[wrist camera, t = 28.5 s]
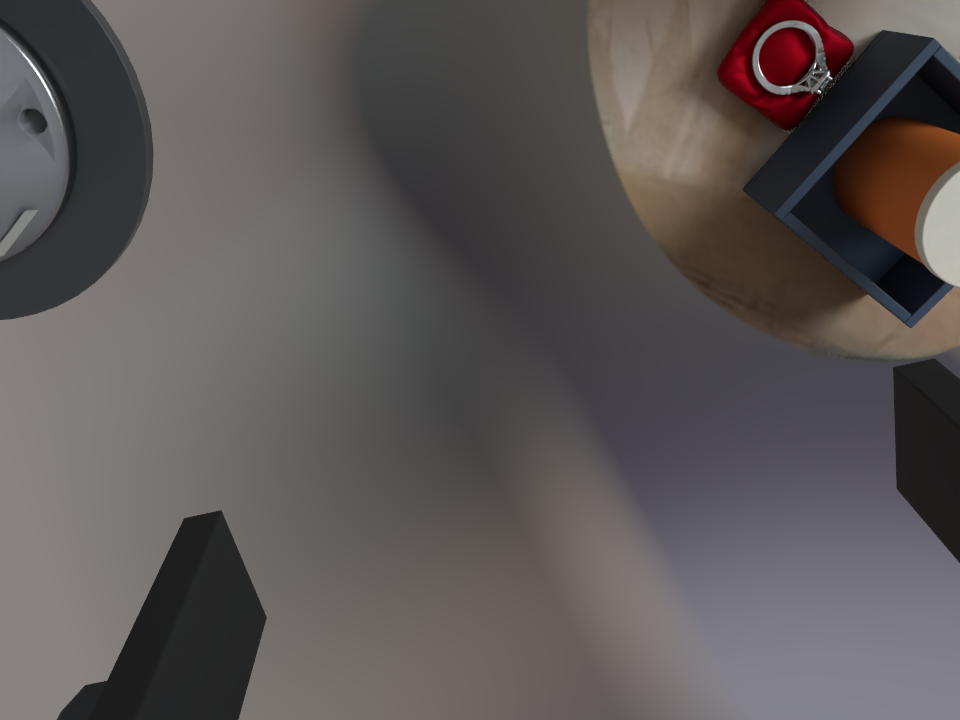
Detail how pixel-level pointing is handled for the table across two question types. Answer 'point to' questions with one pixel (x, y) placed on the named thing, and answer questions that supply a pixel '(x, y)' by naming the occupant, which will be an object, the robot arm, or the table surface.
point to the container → (906, 190)
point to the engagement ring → (784, 61)
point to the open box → (824, 138)
